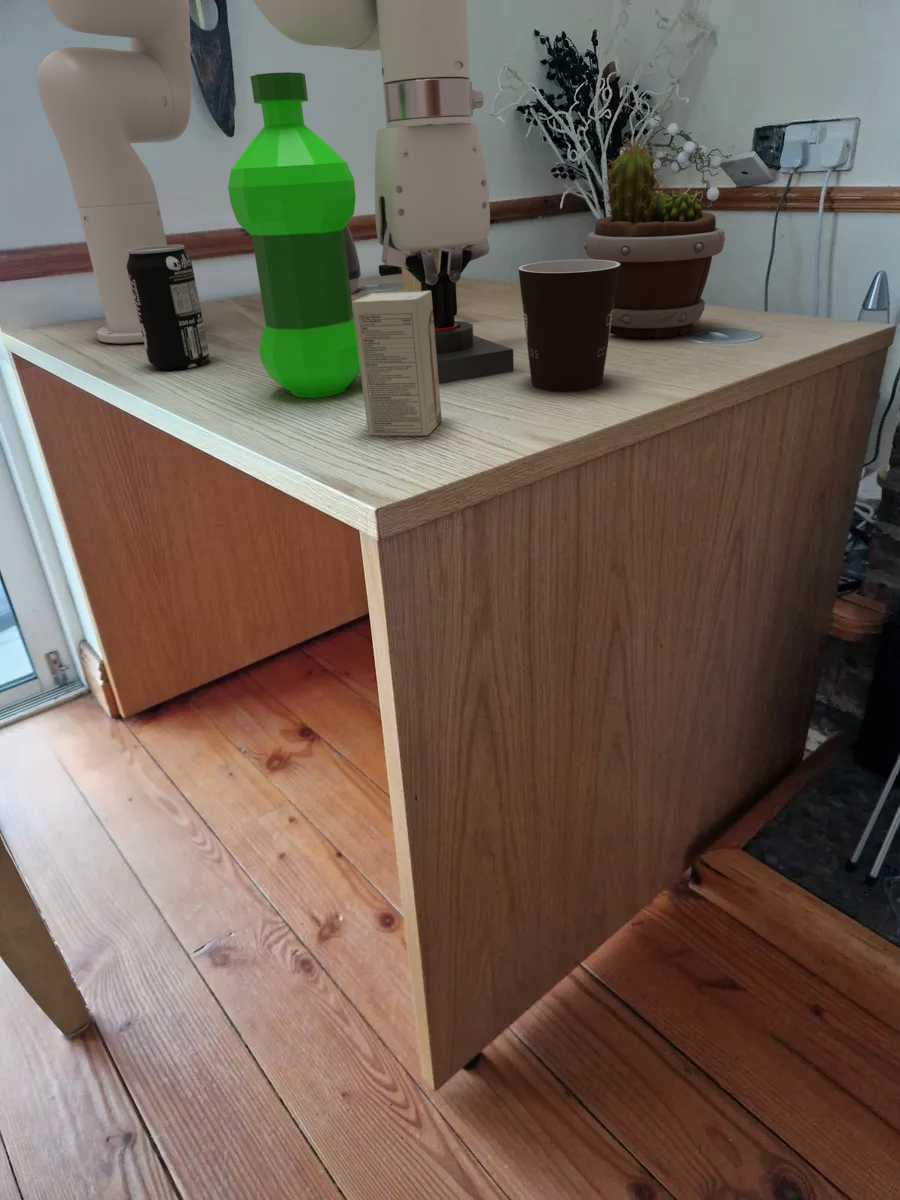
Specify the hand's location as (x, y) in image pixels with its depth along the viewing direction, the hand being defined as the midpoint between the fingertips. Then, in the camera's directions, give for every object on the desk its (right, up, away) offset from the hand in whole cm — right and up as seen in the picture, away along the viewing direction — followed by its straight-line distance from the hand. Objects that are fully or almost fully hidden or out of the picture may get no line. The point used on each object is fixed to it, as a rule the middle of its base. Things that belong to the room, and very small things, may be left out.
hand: (440, 325), depth 78 cm
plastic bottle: (-11, -8, -3) cm, 14 cm away
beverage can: (-29, -1, +10) cm, 31 cm away
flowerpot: (+24, +4, +13) cm, 27 cm away
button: (0, -2, +1) cm, 2 cm away
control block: (0, -4, +2) cm, 4 cm away
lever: (-4, +18, +26) cm, 32 cm away
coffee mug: (+12, -7, -5) cm, 15 cm away
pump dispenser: (-17, +18, +44) cm, 51 cm away
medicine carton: (-3, -14, -15) cm, 21 cm away
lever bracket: (-2, +10, +26) cm, 28 cm away
